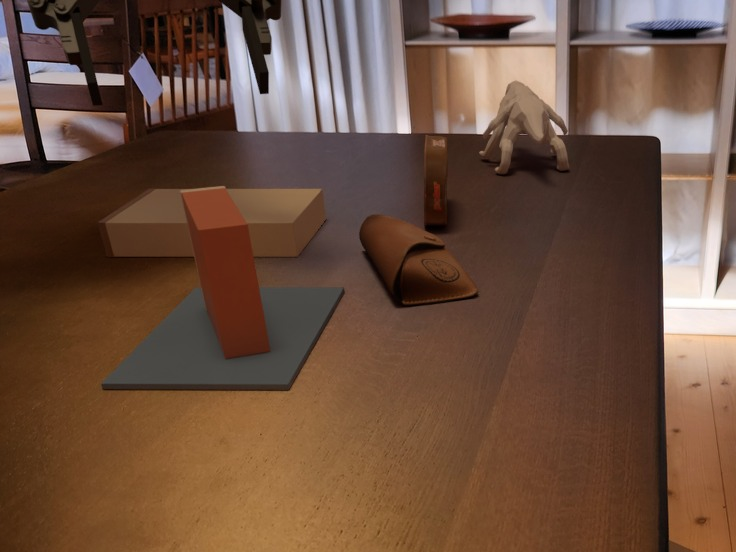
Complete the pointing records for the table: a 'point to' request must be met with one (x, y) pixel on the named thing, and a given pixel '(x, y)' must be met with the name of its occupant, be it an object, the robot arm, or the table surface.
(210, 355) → the mat
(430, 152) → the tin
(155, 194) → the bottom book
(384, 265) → the sunglasses case
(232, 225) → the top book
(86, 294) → the table surface
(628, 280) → the table surface
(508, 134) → the beige creature figurine
